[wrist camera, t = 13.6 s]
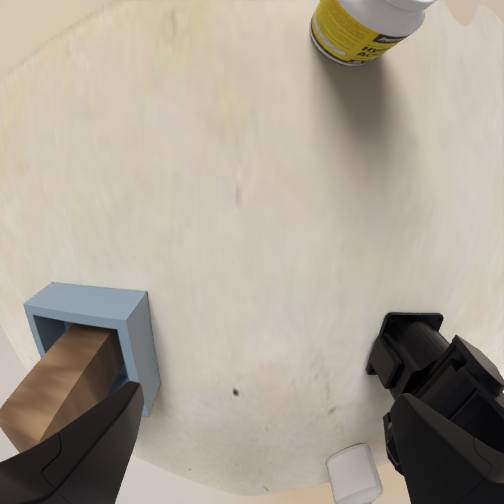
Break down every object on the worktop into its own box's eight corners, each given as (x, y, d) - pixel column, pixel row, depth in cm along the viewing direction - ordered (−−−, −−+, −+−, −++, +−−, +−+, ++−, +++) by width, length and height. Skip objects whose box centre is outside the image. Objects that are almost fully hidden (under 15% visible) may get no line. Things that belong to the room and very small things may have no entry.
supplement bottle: (344, 80, 17) (413, 29, 8) (292, 26, 16) (321, -55, 6) (391, 49, 16) (467, 1, 7) (343, -1, 15) (392, -72, 5)
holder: (147, 291, 21) (126, 320, 17) (161, 387, 24) (150, 421, 20) (52, 282, 21) (23, 303, 17) (77, 371, 24) (58, 398, 20)
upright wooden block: (117, 323, 22) (39, 440, 9) (125, 361, 23) (67, 476, 10) (78, 317, 22) (-6, 417, 9) (88, 354, 23) (21, 455, 10)
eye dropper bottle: (327, 449, 28) (345, 531, 17) (371, 440, 28) (397, 516, 16) (324, 465, 29) (339, 539, 18) (364, 457, 29) (386, 527, 18)
